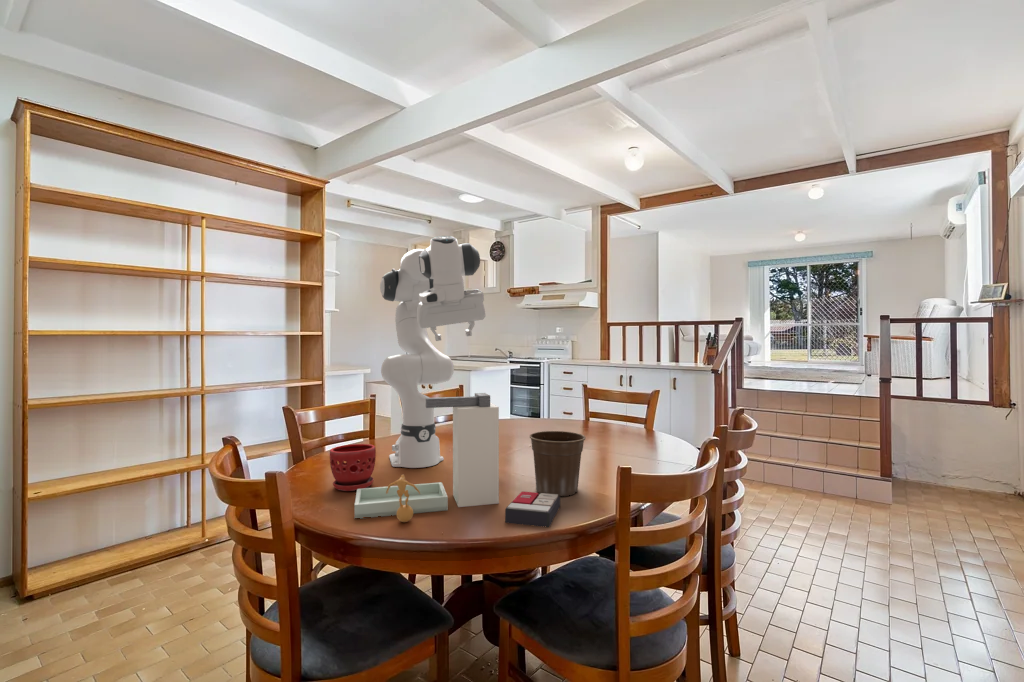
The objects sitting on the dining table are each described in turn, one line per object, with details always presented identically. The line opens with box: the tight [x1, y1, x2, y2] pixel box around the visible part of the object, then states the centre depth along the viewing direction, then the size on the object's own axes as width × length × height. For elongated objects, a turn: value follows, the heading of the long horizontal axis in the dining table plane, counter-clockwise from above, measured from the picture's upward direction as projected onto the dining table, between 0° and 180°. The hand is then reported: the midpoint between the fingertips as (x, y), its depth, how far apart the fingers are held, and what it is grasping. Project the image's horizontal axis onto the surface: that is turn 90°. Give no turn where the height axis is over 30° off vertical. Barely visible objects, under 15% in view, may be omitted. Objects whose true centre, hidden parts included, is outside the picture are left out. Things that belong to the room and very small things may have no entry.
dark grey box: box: [504, 491, 561, 528], centre depth 121 cm, size 11×4×15 cm
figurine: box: [386, 474, 420, 523], centre depth 115 cm, size 8×6×12 cm
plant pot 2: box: [529, 430, 586, 497], centre depth 140 cm, size 16×16×16 cm
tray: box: [354, 481, 449, 519], centre depth 127 cm, size 13×23×4 cm, turn 105°
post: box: [452, 401, 500, 508], centre depth 132 cm, size 10×11×26 cm
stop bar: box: [426, 392, 491, 409], centre depth 131 cm, size 7×17×3 cm, turn 105°
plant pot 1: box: [329, 443, 377, 492], centre depth 144 cm, size 13×13×12 cm
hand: (453, 338), depth 144 cm, fingers open, 8 cm apart
